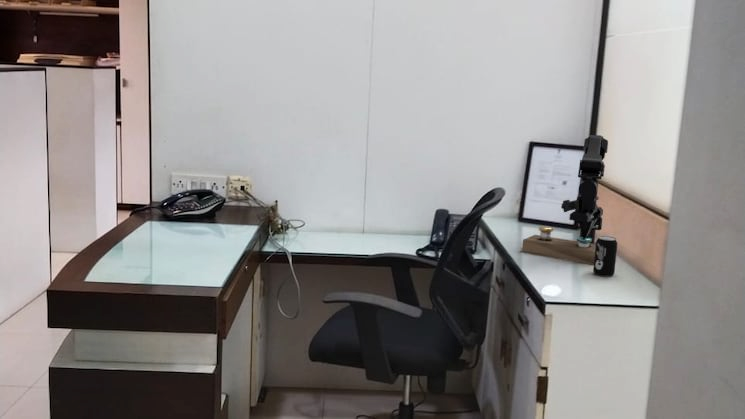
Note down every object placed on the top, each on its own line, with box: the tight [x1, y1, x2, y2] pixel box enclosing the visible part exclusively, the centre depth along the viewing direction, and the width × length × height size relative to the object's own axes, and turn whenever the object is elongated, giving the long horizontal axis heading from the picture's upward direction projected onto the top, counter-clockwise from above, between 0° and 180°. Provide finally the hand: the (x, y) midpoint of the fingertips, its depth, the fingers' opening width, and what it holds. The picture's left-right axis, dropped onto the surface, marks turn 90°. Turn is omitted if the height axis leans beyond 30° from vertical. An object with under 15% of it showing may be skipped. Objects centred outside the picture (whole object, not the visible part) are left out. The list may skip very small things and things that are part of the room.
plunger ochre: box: [538, 225, 554, 242], centre depth 265 cm, size 5×5×5 cm
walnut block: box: [521, 234, 596, 266], centre depth 262 cm, size 12×26×4 cm, turn 57°
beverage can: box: [592, 235, 618, 277], centre depth 238 cm, size 7×7×12 cm
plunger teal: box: [576, 235, 592, 248], centre depth 258 cm, size 5×5×5 cm
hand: (584, 238), depth 258 cm, fingers closed, pressing on plunger teal
